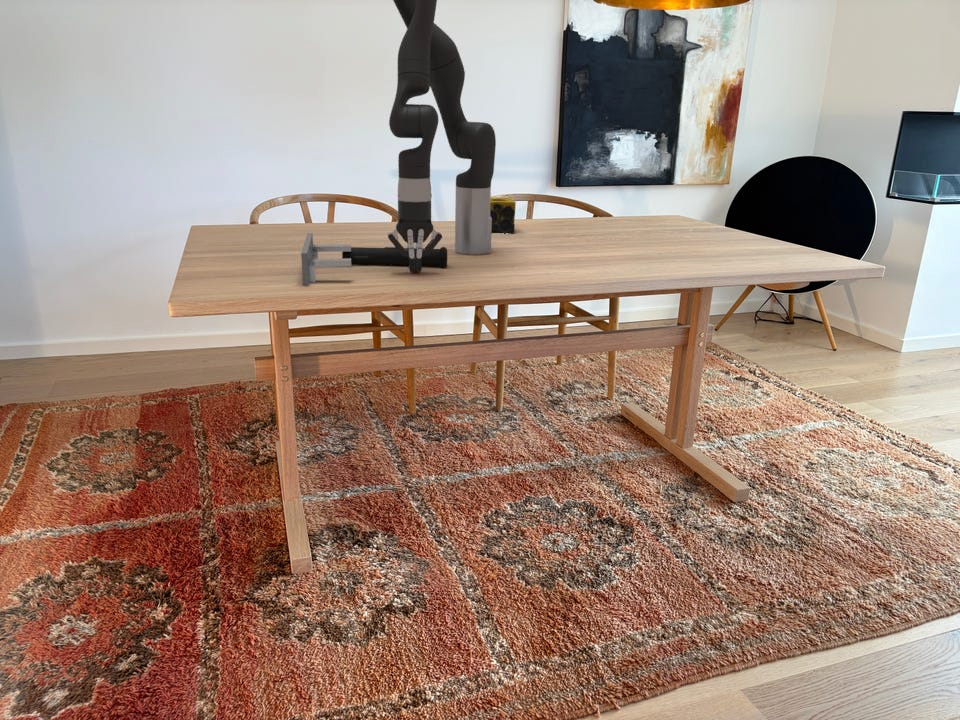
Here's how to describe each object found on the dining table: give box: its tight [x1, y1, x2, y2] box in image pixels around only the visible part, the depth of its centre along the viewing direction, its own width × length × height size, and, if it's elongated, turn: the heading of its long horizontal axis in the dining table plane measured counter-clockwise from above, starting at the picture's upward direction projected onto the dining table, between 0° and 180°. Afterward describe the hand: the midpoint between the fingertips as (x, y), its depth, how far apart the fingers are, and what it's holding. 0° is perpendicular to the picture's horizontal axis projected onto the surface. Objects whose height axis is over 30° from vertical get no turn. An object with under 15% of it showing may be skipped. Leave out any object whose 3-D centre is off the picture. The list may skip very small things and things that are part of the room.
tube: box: [341, 246, 448, 269], centre depth 177 cm, size 25×6×6 cm, turn 91°
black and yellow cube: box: [490, 196, 517, 235], centre depth 227 cm, size 10×10×10 cm
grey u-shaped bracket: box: [308, 243, 352, 284], centre depth 166 cm, size 9×18×6 cm, turn 10°
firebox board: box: [300, 232, 314, 287], centre depth 165 cm, size 1×24×8 cm, turn 10°
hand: (415, 273), depth 170 cm, fingers closed
